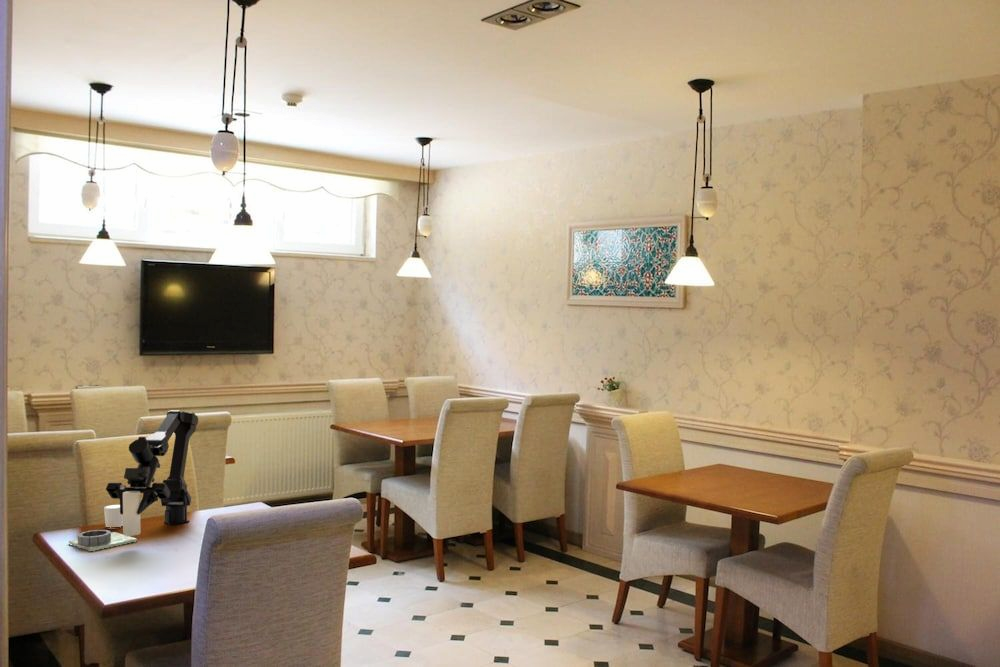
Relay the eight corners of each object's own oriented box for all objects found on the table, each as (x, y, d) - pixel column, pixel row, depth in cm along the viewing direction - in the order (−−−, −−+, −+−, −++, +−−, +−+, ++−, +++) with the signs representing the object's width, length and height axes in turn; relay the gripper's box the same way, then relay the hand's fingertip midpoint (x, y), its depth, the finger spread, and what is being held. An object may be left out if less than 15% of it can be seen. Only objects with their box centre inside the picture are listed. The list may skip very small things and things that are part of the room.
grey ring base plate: (114, 534, 282) (114, 524, 282) (136, 541, 274) (136, 530, 274) (68, 544, 271) (68, 533, 270) (90, 551, 262) (90, 540, 262)
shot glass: (119, 528, 290) (119, 508, 290) (100, 528, 291) (99, 508, 290) (129, 524, 297) (129, 504, 297) (109, 523, 297) (109, 503, 297)
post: (135, 530, 270) (134, 490, 269) (143, 533, 267) (143, 492, 266) (120, 534, 266) (119, 492, 265) (128, 536, 263) (128, 494, 262)
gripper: (108, 457, 270) (90, 499, 259) (166, 457, 269) (150, 499, 258) (120, 476, 278) (103, 518, 267) (176, 477, 277) (162, 519, 266)
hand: (129, 513), depth 265 cm, fingers closed on post, 5 cm apart
